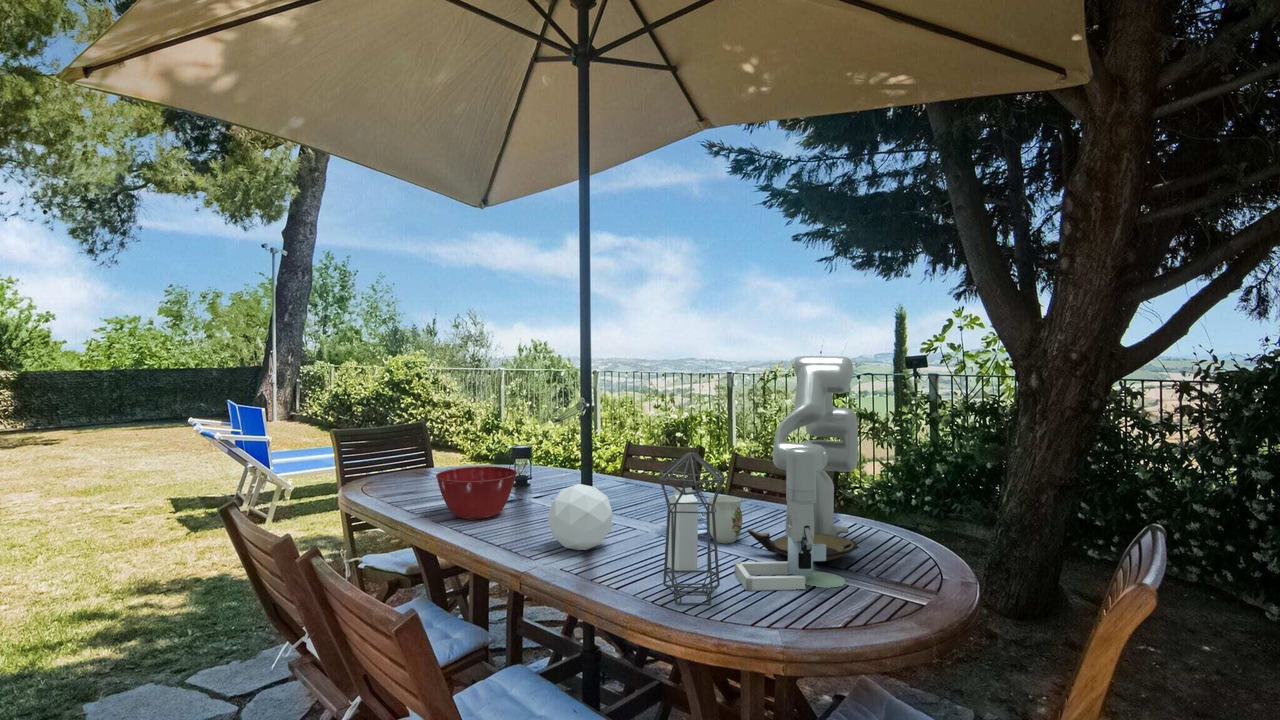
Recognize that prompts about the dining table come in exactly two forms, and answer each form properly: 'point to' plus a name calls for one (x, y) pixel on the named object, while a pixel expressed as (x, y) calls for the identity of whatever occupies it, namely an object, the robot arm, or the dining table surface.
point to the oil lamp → (833, 543)
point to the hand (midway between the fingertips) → (800, 563)
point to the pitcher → (726, 518)
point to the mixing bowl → (476, 490)
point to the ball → (580, 517)
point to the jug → (793, 551)
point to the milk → (684, 533)
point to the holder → (767, 582)
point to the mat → (824, 580)
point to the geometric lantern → (719, 479)
